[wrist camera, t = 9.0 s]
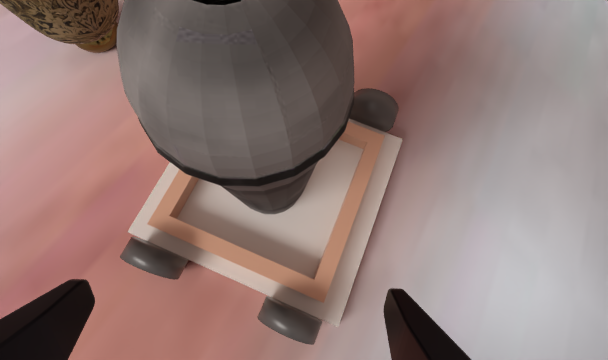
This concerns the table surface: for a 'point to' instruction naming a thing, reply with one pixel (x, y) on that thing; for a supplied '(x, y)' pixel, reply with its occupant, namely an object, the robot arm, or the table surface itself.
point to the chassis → (279, 227)
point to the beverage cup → (240, 89)
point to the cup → (71, 20)
